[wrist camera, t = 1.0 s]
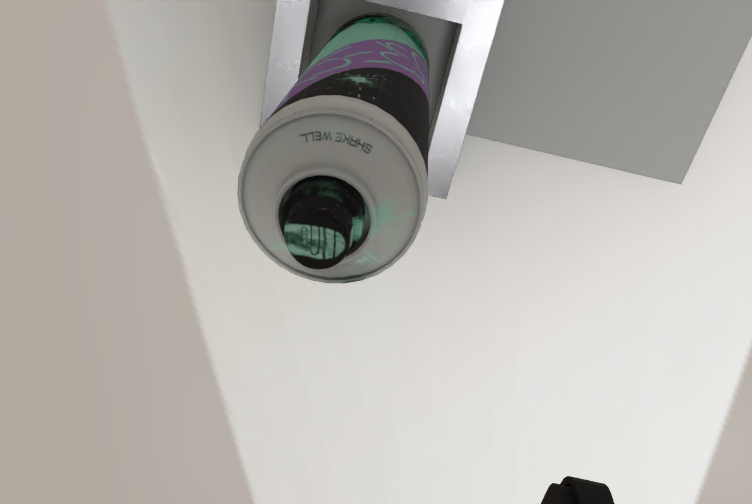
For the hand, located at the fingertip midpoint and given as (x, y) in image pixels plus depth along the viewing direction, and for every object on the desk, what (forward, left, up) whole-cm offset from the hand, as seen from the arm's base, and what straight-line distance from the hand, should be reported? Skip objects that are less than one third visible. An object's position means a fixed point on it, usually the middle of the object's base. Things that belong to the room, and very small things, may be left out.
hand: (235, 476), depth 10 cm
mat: (-4, +11, -27) cm, 30 cm away
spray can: (0, 0, -28) cm, 28 cm away
